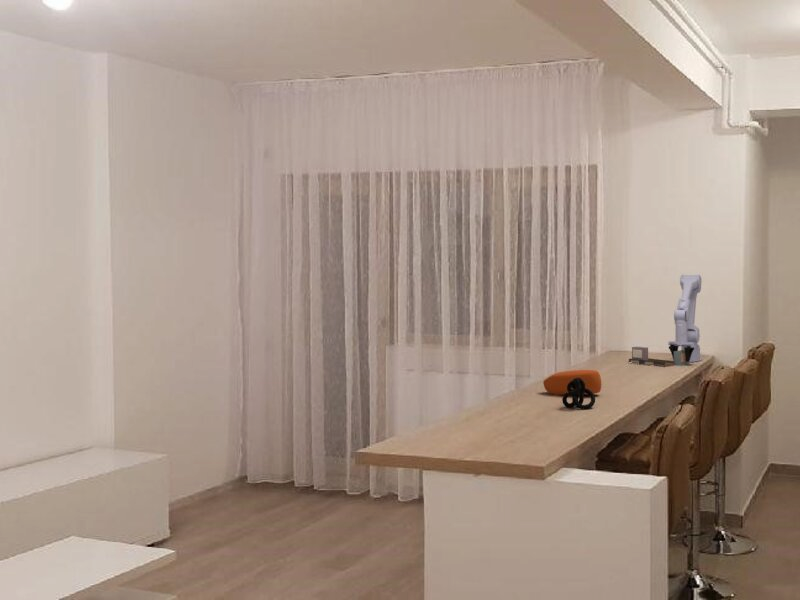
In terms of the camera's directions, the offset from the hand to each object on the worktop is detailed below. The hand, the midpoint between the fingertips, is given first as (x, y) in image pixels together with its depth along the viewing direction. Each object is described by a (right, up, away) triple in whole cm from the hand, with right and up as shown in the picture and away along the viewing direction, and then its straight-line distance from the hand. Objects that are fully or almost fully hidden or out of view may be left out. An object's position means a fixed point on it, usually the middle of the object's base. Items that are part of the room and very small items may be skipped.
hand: (681, 360), depth 539 cm
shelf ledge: (-14, -2, +4) cm, 15 cm away
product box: (0, -2, 0) cm, 2 cm away
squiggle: (-70, -12, -117) cm, 137 cm away
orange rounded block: (-68, -10, -84) cm, 109 cm away
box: (-18, -1, +10) cm, 21 cm away
